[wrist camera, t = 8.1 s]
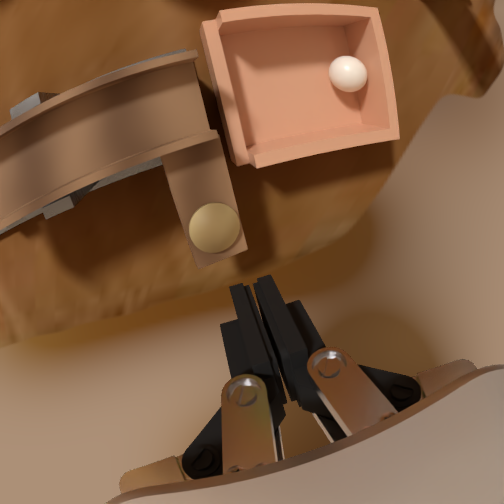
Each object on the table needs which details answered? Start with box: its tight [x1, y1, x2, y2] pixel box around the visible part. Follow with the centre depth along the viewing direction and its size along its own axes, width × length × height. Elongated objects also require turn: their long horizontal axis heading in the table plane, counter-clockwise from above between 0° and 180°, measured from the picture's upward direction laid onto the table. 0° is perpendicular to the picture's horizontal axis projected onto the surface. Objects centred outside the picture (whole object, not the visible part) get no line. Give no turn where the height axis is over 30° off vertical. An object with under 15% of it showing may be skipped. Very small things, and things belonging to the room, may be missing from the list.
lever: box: [0, 49, 248, 269], centre depth 16 cm, size 22×15×4 cm, turn 102°
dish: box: [200, 3, 400, 168], centre depth 20 cm, size 14×12×5 cm
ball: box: [329, 56, 368, 92], centre depth 21 cm, size 3×3×3 cm
